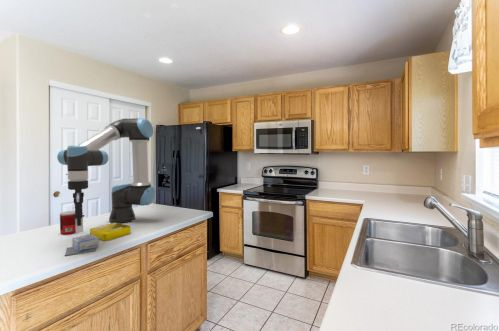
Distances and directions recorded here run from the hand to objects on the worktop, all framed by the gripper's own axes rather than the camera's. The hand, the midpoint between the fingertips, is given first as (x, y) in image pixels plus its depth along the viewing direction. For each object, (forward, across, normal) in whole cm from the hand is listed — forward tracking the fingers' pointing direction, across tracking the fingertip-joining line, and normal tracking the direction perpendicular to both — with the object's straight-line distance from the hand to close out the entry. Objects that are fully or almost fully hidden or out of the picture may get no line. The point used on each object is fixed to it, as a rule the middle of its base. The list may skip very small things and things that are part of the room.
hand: (79, 232), depth 114 cm
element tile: (+9, -16, +13) cm, 22 cm away
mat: (+8, +1, 0) cm, 8 cm away
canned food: (+8, -31, -6) cm, 33 cm away
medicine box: (+5, -4, +1) cm, 7 cm away
